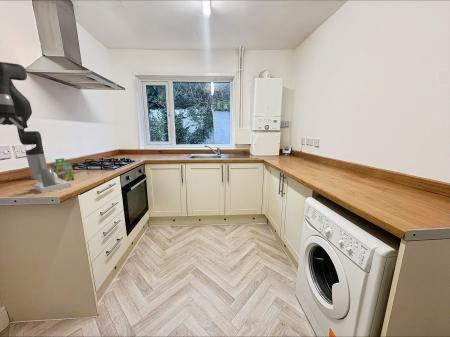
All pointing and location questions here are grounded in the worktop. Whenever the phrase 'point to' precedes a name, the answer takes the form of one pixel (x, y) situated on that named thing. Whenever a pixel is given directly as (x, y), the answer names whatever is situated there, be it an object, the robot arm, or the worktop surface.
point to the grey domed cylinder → (47, 177)
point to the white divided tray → (59, 185)
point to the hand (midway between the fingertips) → (10, 136)
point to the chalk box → (63, 170)
